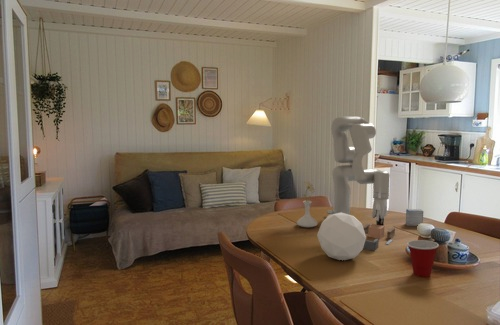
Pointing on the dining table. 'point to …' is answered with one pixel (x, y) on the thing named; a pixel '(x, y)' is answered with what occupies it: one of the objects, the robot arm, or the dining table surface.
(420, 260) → the plastic cup
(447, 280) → the dining table surface
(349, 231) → the ball
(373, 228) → the block
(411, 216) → the medicine box
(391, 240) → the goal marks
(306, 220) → the flower in vase
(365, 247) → the trap bay
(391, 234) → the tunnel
